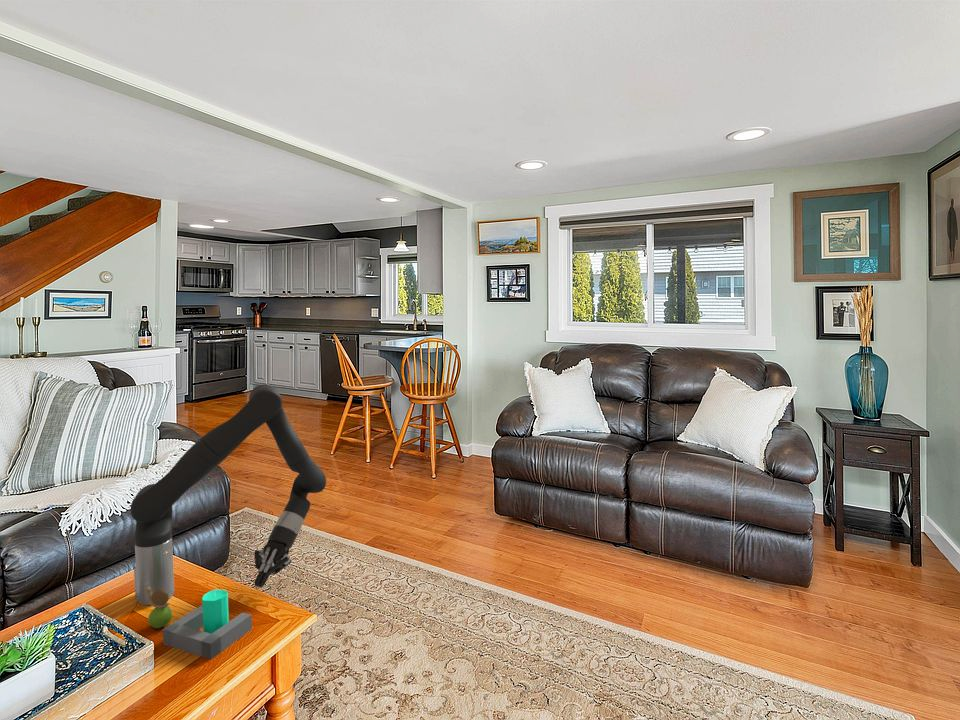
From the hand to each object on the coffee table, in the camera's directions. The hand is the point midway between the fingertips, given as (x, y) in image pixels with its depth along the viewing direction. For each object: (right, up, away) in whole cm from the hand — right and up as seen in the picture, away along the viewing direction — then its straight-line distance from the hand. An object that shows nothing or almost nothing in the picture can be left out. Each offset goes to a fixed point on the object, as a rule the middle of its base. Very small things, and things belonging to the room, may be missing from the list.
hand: (257, 586), depth 149 cm
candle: (-5, -6, -14) cm, 16 cm away
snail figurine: (-22, -6, -12) cm, 25 cm away
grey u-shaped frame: (-6, -6, -16) cm, 18 cm away
